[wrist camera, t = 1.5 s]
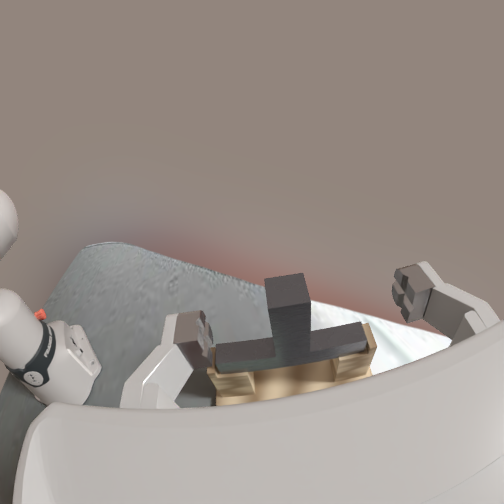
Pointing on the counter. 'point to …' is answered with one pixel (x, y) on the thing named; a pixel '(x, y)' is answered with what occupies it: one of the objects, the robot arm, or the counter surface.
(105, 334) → the counter surface
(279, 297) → the grey inverted t block
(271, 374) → the stand
